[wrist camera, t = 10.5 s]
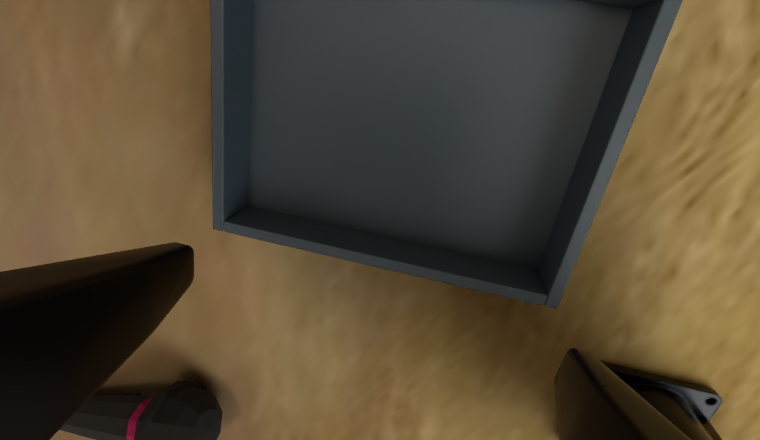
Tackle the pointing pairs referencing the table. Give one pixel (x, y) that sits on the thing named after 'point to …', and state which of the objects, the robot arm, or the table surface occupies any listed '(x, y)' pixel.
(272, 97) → the grey tray
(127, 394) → the microphone
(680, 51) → the table surface
